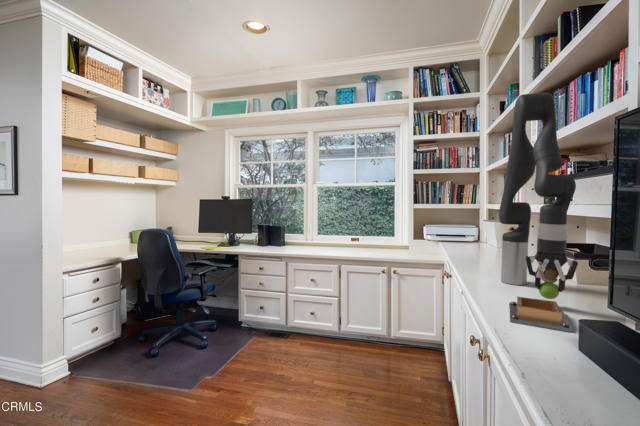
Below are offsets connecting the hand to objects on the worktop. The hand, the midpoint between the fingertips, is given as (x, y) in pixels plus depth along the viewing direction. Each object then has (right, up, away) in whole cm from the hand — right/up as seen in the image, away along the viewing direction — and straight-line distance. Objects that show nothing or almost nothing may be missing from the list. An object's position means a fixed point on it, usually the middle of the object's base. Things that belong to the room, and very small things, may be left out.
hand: (549, 289), depth 104 cm
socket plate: (-10, -6, -9) cm, 15 cm away
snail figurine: (0, -3, +1) cm, 3 cm away
